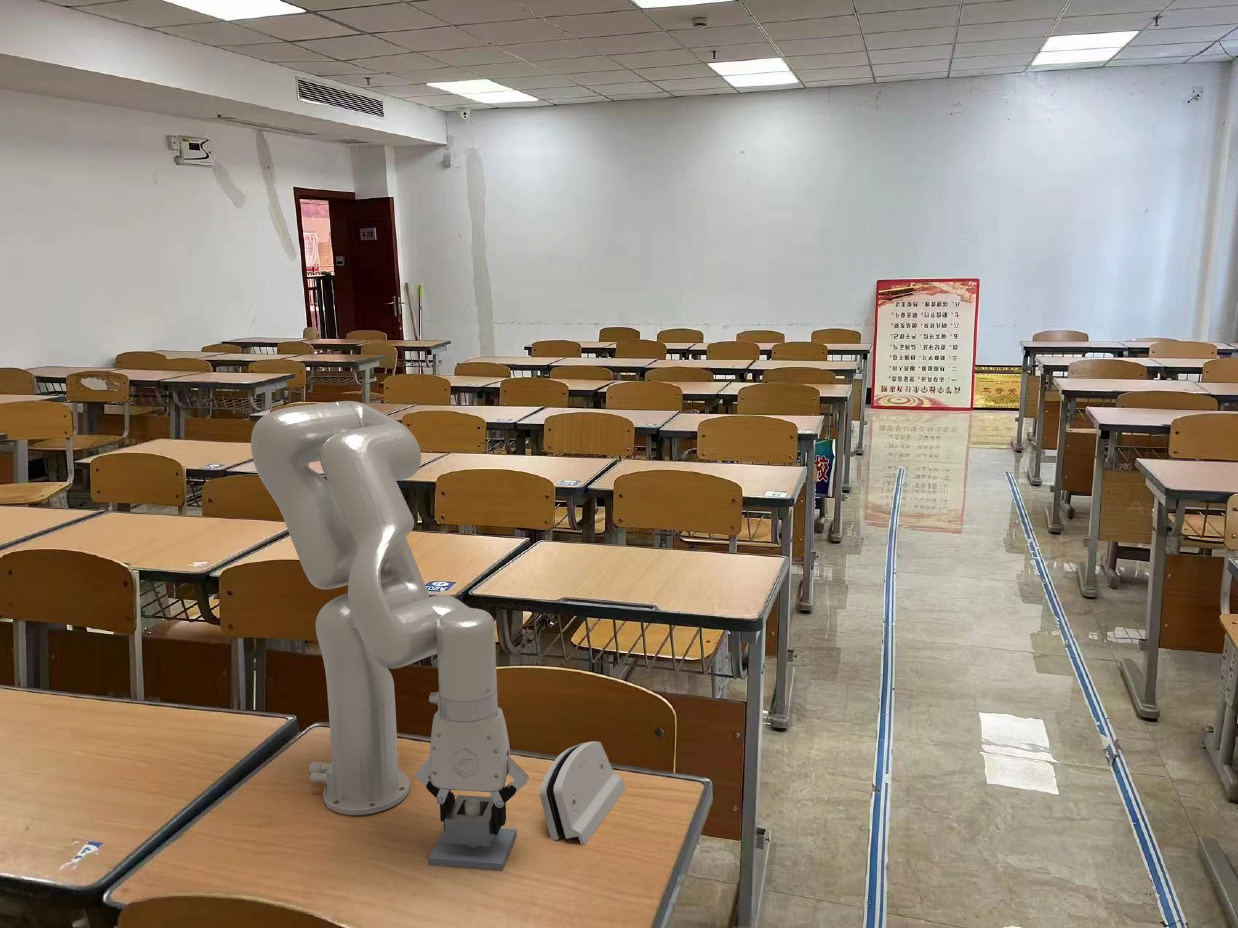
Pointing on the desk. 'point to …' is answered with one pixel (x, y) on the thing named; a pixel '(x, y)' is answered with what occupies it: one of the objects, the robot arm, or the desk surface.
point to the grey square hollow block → (469, 823)
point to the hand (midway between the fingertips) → (473, 826)
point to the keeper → (474, 848)
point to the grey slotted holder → (579, 791)
